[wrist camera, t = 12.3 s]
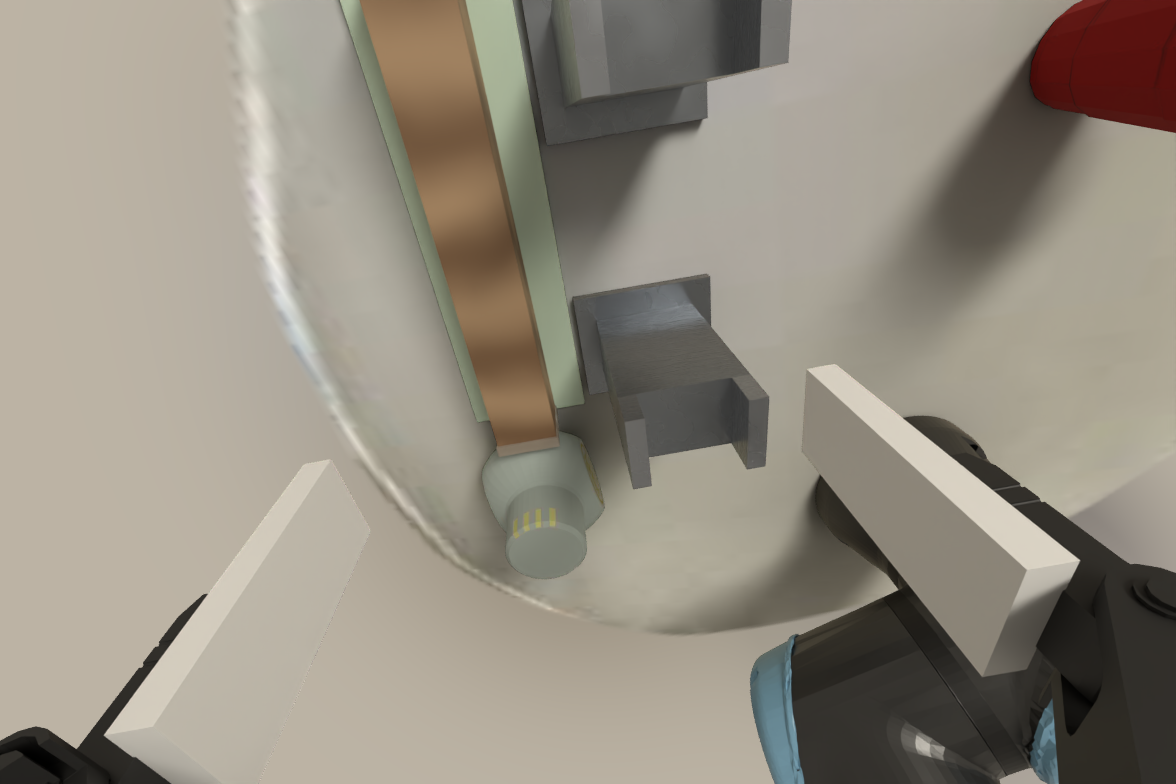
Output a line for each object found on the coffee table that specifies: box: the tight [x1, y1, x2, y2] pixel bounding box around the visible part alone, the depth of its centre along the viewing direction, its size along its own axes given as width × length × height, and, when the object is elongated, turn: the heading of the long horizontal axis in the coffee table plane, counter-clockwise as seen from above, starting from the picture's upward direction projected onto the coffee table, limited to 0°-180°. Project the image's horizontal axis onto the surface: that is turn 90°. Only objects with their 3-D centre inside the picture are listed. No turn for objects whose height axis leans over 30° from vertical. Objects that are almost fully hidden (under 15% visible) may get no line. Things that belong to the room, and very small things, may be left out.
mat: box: [340, 0, 585, 422], centre depth 32 cm, size 28×9×1 cm, turn 8°
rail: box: [359, 0, 560, 457], centre depth 30 cm, size 29×5×5 cm, turn 8°
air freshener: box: [482, 431, 605, 579], centre depth 38 cm, size 11×8×10 cm
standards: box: [522, 0, 792, 489], centre depth 26 cm, size 26×10×14 cm, turn 8°
